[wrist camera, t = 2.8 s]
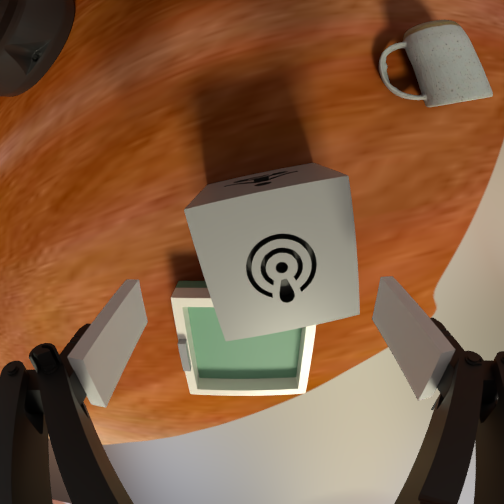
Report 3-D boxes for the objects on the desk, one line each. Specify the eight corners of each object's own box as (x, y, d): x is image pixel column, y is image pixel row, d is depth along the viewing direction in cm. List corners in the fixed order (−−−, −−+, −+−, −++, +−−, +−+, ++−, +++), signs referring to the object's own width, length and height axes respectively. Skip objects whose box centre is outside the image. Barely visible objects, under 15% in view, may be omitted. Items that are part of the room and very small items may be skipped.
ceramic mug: (435, 33, 19) (475, 17, 12) (461, 99, 22) (506, 97, 15) (360, 43, 21) (392, 18, 14) (391, 117, 24) (433, 114, 16)
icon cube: (327, 260, 29) (359, 314, 20) (232, 279, 30) (225, 341, 20) (313, 162, 25) (348, 175, 16) (207, 184, 26) (183, 209, 17)
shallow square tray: (194, 374, 35) (192, 382, 33) (178, 280, 30) (175, 287, 28) (301, 373, 35) (303, 381, 33) (312, 279, 30) (315, 286, 28)
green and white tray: (192, 382, 33) (189, 398, 31) (175, 287, 28) (168, 302, 26) (303, 381, 33) (306, 398, 31) (315, 286, 28) (321, 300, 26)
